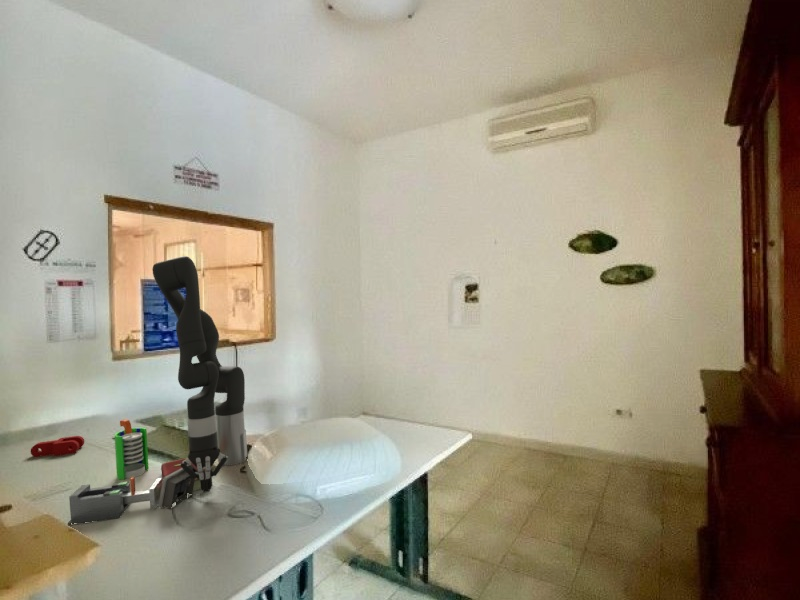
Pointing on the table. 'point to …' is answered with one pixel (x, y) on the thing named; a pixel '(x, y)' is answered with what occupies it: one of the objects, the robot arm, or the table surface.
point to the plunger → (144, 494)
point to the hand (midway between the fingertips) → (206, 490)
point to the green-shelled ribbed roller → (131, 451)
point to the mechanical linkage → (58, 446)
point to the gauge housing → (98, 503)
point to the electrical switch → (175, 488)
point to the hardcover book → (176, 465)
